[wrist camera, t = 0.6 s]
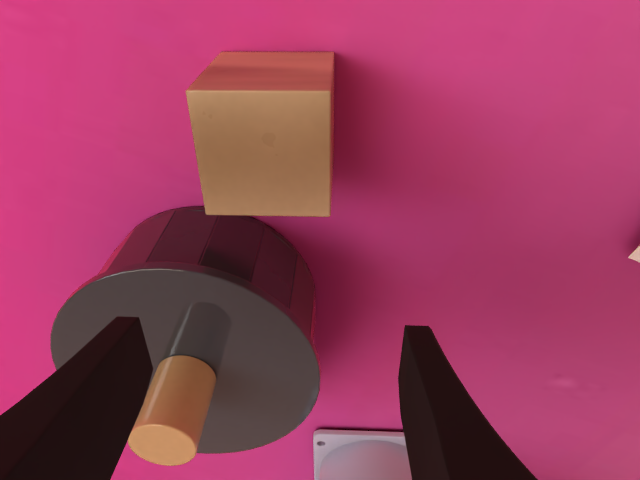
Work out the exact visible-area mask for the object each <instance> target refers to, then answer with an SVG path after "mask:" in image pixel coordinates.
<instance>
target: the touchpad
mask: <svg viewBox="0 0 640 480" xmlns="http://www.w3.org/2000/svg"><path fill="white" fill-rule="evenodd" d="M628 258H630V259H633V260H635V261H638V262H640V245H639V246H638V247H637V248H636V249H635V250H634V251H633V252H632V254H631V255H630V256H629V257H628Z"/></svg>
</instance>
